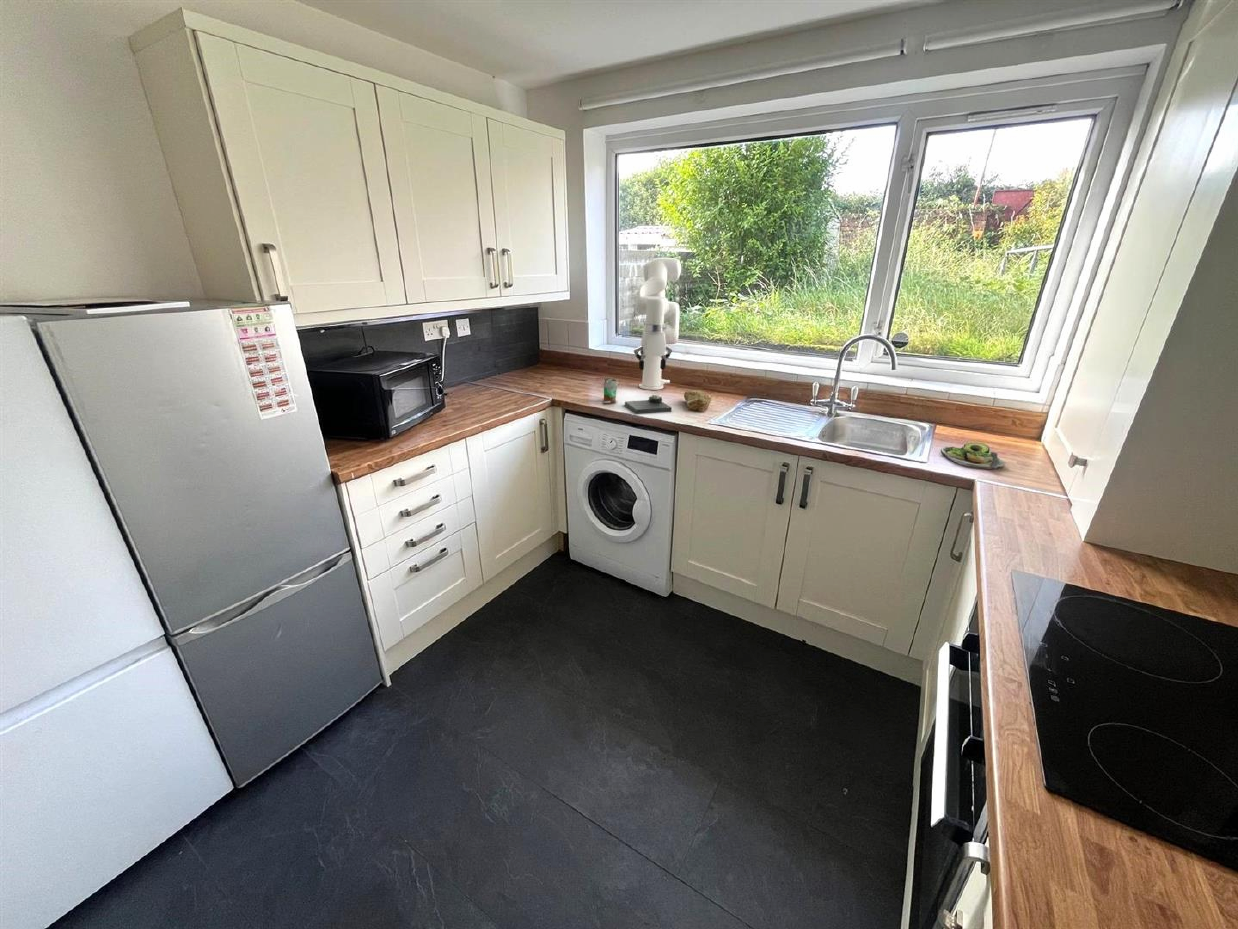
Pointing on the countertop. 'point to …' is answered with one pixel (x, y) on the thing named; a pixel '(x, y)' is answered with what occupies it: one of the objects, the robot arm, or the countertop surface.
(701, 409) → the mossy rock
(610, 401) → the food container
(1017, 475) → the countertop surface
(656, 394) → the scale button
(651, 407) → the scale
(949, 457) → the salad plate
